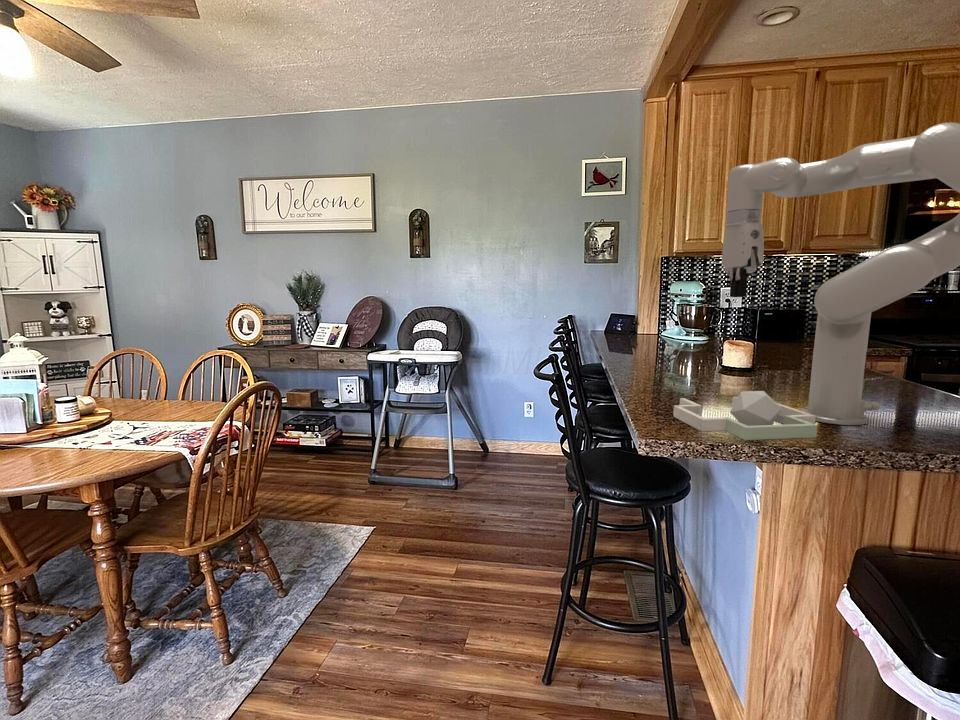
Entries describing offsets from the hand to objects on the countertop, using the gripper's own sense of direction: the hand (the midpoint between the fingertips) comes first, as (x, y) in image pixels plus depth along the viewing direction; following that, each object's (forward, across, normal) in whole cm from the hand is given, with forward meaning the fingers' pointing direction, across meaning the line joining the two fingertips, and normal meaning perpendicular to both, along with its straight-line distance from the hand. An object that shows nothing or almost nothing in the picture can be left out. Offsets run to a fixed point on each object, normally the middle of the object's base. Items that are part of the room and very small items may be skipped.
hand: (737, 296), depth 121 cm
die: (+27, -20, +7) cm, 35 cm away
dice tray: (+27, -15, +7) cm, 32 cm away
